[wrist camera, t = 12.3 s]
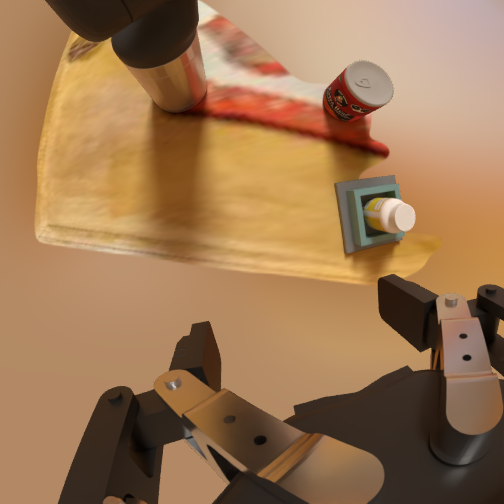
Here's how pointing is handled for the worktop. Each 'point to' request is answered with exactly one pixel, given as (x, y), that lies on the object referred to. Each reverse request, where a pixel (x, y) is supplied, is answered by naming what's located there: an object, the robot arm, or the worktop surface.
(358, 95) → the canned food
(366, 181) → the grey-teal square frame
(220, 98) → the worktop surface
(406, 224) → the supplement bottle
